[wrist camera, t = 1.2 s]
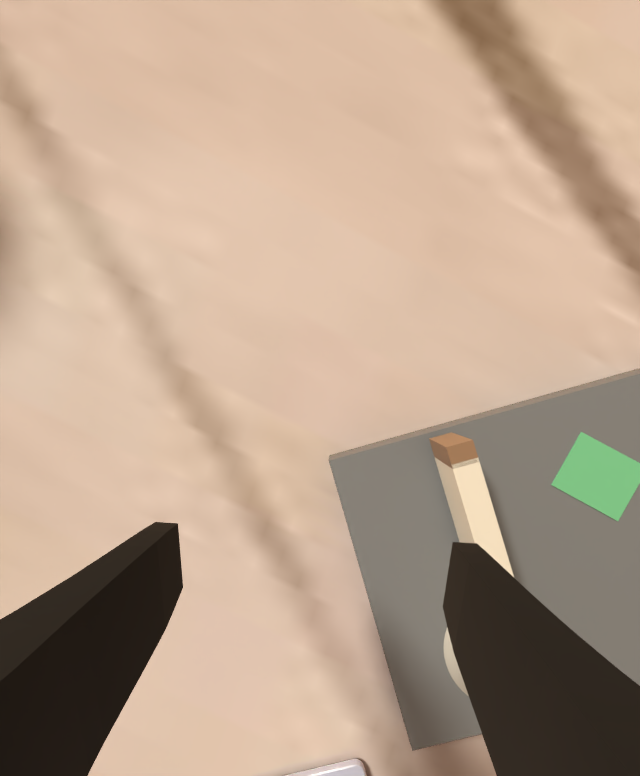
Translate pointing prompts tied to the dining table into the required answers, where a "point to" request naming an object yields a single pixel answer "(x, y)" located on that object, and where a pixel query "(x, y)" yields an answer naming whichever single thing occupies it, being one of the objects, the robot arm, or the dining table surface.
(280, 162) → the dining table surface
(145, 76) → the dining table surface
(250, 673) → the dining table surface
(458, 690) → the dial board
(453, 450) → the brown-capped cream post
